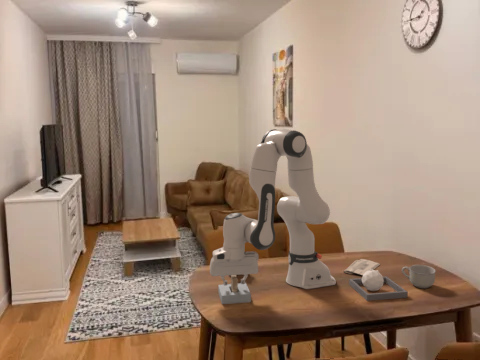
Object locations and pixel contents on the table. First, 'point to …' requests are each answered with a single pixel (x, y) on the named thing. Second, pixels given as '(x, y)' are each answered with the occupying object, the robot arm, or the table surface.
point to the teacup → (420, 275)
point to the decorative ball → (372, 280)
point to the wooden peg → (234, 283)
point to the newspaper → (361, 266)
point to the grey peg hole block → (234, 294)
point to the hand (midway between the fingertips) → (234, 284)
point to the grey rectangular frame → (379, 296)
